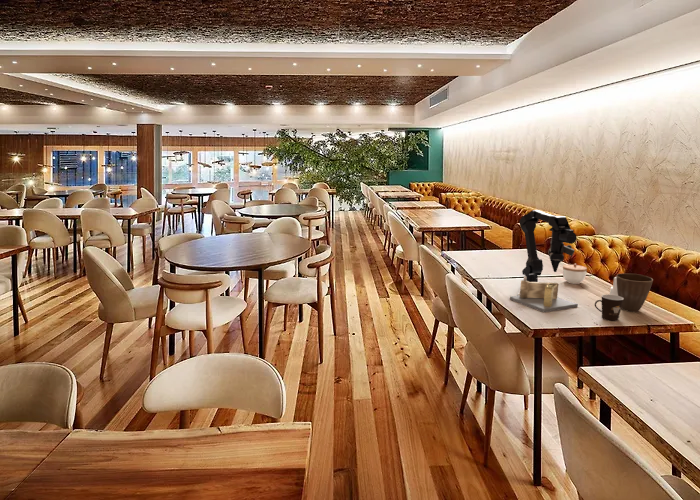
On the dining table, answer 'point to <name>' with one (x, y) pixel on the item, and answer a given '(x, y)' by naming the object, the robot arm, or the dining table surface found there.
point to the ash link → (535, 289)
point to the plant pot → (633, 290)
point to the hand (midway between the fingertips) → (554, 270)
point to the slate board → (539, 302)
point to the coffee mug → (610, 307)
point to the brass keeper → (549, 294)
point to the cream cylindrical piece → (614, 288)
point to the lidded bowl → (574, 273)
